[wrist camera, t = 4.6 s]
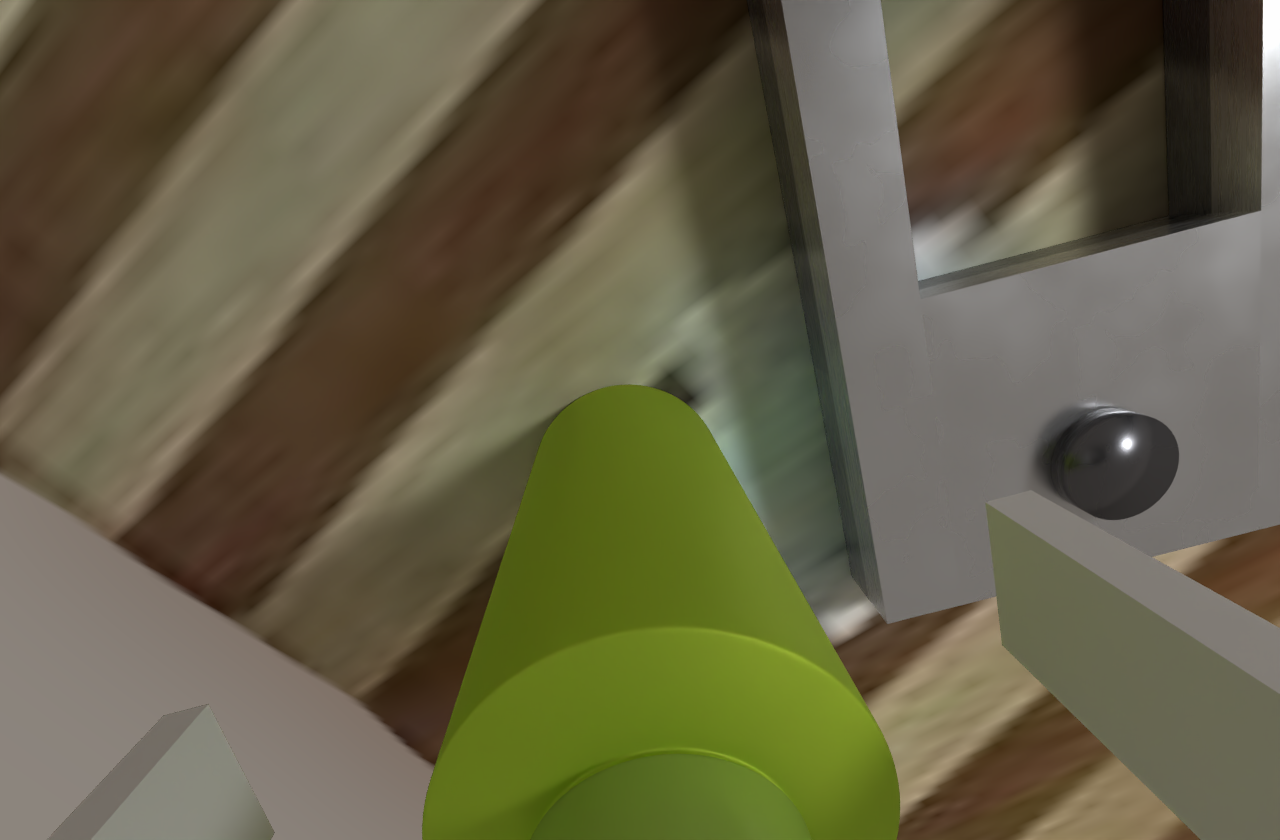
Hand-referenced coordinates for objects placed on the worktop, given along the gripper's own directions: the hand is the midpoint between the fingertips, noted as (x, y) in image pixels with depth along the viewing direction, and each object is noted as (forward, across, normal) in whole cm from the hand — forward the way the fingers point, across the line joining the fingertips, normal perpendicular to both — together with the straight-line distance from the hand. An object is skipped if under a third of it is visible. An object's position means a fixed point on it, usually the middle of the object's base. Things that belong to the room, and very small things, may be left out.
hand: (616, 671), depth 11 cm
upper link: (+10, +14, +4) cm, 17 cm away
